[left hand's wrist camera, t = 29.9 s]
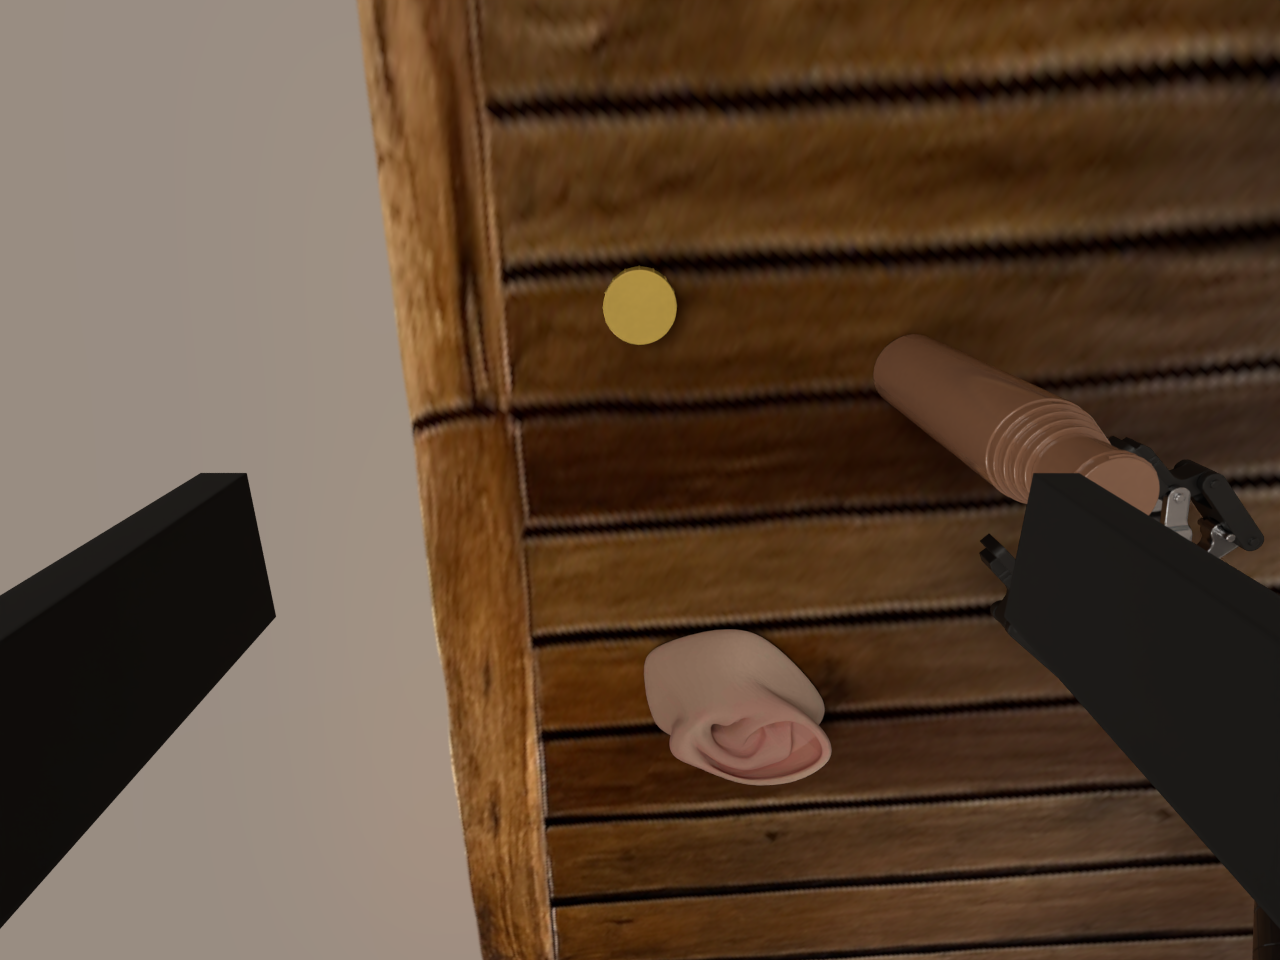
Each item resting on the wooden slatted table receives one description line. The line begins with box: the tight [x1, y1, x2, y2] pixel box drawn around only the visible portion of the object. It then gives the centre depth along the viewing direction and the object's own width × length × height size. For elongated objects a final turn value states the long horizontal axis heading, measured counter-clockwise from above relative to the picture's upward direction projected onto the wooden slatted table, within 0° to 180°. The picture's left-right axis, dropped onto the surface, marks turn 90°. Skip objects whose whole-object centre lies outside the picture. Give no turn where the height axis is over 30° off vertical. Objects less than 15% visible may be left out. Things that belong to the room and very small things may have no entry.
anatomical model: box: [644, 629, 831, 785], centre depth 52 cm, size 13×4×12 cm
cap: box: [602, 266, 677, 345], centre depth 43 cm, size 4×4×2 cm
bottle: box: [874, 334, 1160, 515], centre depth 35 cm, size 5×5×21 cm
